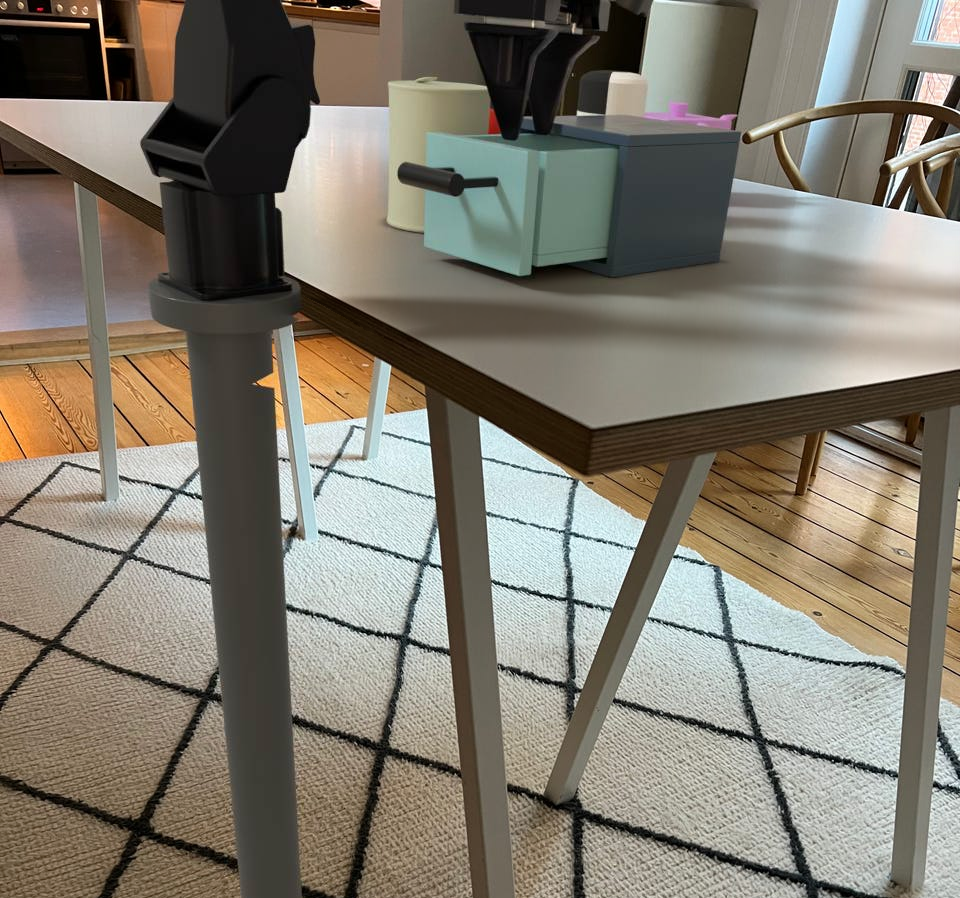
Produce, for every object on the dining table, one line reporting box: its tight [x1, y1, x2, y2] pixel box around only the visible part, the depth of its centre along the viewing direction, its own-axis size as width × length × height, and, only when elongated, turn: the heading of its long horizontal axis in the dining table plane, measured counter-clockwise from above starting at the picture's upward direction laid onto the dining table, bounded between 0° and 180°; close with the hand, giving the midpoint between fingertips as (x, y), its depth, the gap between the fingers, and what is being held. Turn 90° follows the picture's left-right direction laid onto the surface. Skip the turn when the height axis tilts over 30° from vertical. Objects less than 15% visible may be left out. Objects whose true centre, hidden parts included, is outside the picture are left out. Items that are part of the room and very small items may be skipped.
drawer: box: [397, 132, 620, 277], centre depth 78 cm, size 17×11×8 cm, turn 131°
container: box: [576, 69, 649, 117], centre depth 100 cm, size 8×8×13 cm
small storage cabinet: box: [520, 115, 742, 278], centre depth 85 cm, size 14×13×10 cm
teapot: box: [644, 101, 738, 130], centre depth 116 cm, size 18×13×10 cm
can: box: [386, 76, 491, 234], centre depth 91 cm, size 9×9×12 cm
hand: (527, 137), depth 76 cm, fingers open, 8 cm apart
